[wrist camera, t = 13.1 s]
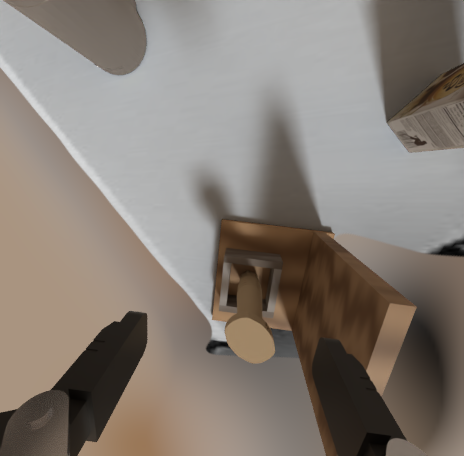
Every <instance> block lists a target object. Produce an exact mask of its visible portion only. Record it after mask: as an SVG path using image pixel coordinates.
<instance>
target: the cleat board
mask: <svg viewBox="0 0 464 456" xmlns="http://www.w3.org/2000/svg"><path fill="white" fill-rule="evenodd" d="M334 235H335V234H334V233H333V232H325V231H317V230H308V229H300V228H292V227H283V226H275V225H267V224H258V223H250V222H242V221H233V220H225V219H222V222H221V233H220V243H219V254H218V264H217V275H216V285H215V296H214V306H213V317H212V320H218V321H225V322H227V321H228V320H229V318H230V317H232V316H233V315H235V314H237V289H238V284H239V281H240V279H241V278H240V276H241V274H242V273H245V272H246V271H247V270H250V271H251V272H253V273H256V274H257V275H258V280H259V282H260V286H261V290H262V318H263V319H264V320H265V321H266V322H267V324H268V326H269V328H275V329H282V330H290V331H292V333H293V336H294V340H295V344H296V347H297V351H298V355H299V358H300V362H301V365H302V369H303V373H304V376H305V380H306V384H307V387H308V391H309V395H310V398H311V402H312V405H313V409H314V413H315V417H316V420H317V424H318V427H319V431H320V435H321V438H322V442H323V445H324V449H325V453H326V456H338V455H337V452H336V448H335V445H334V442H333V439H332V436H331V433H330V430H329V427H328V423H327V420H326V417H325V414H324V411H323V408H322V405H321V402H320V398H319V395H318V392H317V389H316V386H315V383H314V380H313V376H312V362H313V358H314V355H315V352H316V348H317V345H318V341H319V339H320V338H321V337H323V338H331V339H338V340H339V341H340V342H341V343H342V345H343V347H344V349H345V351H346V353H347V354H352V355H353V356H354V357H355V358H356V359H357V360H358V361H359V362H360V363H361V364H362V365H363V367H364V368H365V370H366V372H367V373H368V375H369V377H370V380H371V381H372V382H373V384H374V385H375V387H376V389H377V392H379V394H380V396H381V397H382V394H383V392H384V389H385V386H386V384H387V381H388V379H389V376H390V374H391V371H392V369H393V366H394V363H395V361H396V358H397V356H398V353H399V351H400V348H401V346H402V343H403V340H404V338H405V335H406V333H407V330H408V327H409V325H410V322H411V320H412V317H413V315H414V312H415V310H416V306H415V305H414V304H412V303H411V302H410V301H409V300H407V299H406V298H405V297H404V296H403V295H401V294H400V293H399V292H398V291H396V290H395V289H394V288H393V287H392V286H390V285H389V284H388V283H387V282H385V281H384V280H383V279H382V278H380V277H379V276H378V275H377V274H376V273H374V272H373V271H372V270H370V269H369V268H368V267H367V266H366V265H364V264H363V263H362V262H361V261H359V260H358V259H357V258H356V257H355V256H353V255H352V254H351V253H350V252H348V251H347V250H346V249H345V248H344V247H342V246H341V245H340V244H338V243H337V242H336V241H335V240H334Z"/></svg>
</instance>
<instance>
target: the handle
mask: <svg viewBox="0 0 464 456" xmlns="http://www.w3.org/2000/svg"><path fill="white" fill-rule="evenodd" d="M240 278H241V279H240V281H239V284H238V289H237V314H235V315H233V316H232V317H230V318H229V320H228V321H227V323H226V326H225V335H226V339H227V343H228V345H229V346H230V348H231V349H232V350H233V351H234V352H235V354H236V355H238V356H239V357H240V358H242V359H244V360H246V361H248V362H250V363H261V362H264V361H266V360H268V359H269V358H271V357H272V356H273V354H274V353H275V347H274V341H273V335H272V331H271V329H270V328H269V326H268V324H267V322H266V321H265V320H264V319H263V318H262V290H261V286H260V282H259V280H258V275H257V274H256V273H253V272H251V271H250V270H247V271H246V272H245V273H242V274H241V276H240Z"/></svg>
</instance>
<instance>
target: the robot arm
mask: <svg viewBox="0 0 464 456" xmlns="http://www.w3.org/2000/svg"><path fill="white" fill-rule="evenodd" d="M3 1H5V2H6V3H8V4H9V5H10V6H12V7H13V8H15V9H16V10H18V11H19V12H21V13H22V14H23V15H25V16H26V17H28V18H29V19H31V20H32V21H34V22H35V23H36V24H38V25H39V26H41V27H42V28H44V29H45V30H47V31H48V32H49V33H51V34H52V35H54V36H55V37H57V38H58V39H60V40H61V41H62V42H64V43H65V44H67V45H68V46H70V47H71V48H73V49H74V50H75V51H77V52H78V53H80V54H81V55H83V56H84V57H86V58H87V59H88V60H90V61H91V62H93V63H94V64H95V65H96V66H98V67H100V68H101V69H103V70H104V71H106V72H108V73H110V74H114V75H124V74H128V73H130V72H132V71H133V70H135V69H136V68H137V67H138V66H139V65H140V63H141V61H142V60H143V57H144V55H145V51H146V32H145V28H144V25H143V22H142V20H141V19H140V17H139V15H138V13H137V10H136V2H135V1H134V0H3ZM146 344H147V314H146V313H141V312H134V311H129V312H128V313H127V314H126V315H125V316H124V318H123V319H122V320H121V322H115V321H114V322H113V323H111V324H110V325H108V326H107V327H105V328H104V329H102V330H101V332H100V333H99V334H98V335H97V336H96V338H95V339H94V341H93V342H91V343H90V345H89V346H88V347H87V348H86V350H85V351H84V352H83V353H82V354H81V355H80V356H79V357H78V359H77V360H76V361H75V362H74V363H73V364H72V366H71V367H70V368H69V369H68V370H67V372H66V373H65V374H64V375H63V376H62V378H61V379H60V380H59V381H58V382H57V383H56V384H55V386H54V387H53V388H52V389H51V390H50V391H46V392H43V393H41V394H38V395H36V396H34V397H33V398H31V399H30V400H28V401H27V402H25V403H24V404H23V405H22V406H21V407H19V408H18V409H16V410H12V411H7V412H2V413H0V456H77V455H78V454H79V452H80V450H81V448H82V447H83V445H84V443H85V441H92V442H97V441H98V439H99V437H100V435H101V433H102V431H103V430H104V428H105V426H106V424H107V422H108V420H109V418H110V416H111V414H112V413H113V410H114V409H115V407H116V405H117V403H118V401H119V399H120V397H121V395H122V393H123V392H124V390H125V388H126V386H127V384H128V382H129V380H130V378H131V376H132V375H133V373H134V371H135V369H136V367H137V365H138V363H139V361H140V359H141V358H142V356H143V353H144V351H145V348H146ZM312 376H313V380H314V383H315V386H316V389H317V392H318V395H319V398H320V402H321V405H322V408H323V411H324V414H325V417H326V420H327V423H328V427H329V430H330V433H331V436H332V439H333V442H334V445H335V448H336V452H337V455H338V456H427V455H426V454H425V453H424V452H423V451H422V450H420V449H419V448H418V447H417V446H415V445H413V444H412V443H410V442H408V441H407V440H406V438H405V437H404V435H403V433H402V431H401V430H400V428H399V426H398V425H397V423H396V421H395V419H394V418H393V416H392V414H391V413H390V411H389V409H388V408H387V406H386V404H385V402H384V401H383V399H382V397H381V396H380V394H379V392H377V389H376V387H375V385H374V384H373V382H372V381H371V380H370V377H369V375H368V373H367V372H366V370H365V368H364V367H363V365H362V364H361V363H360V362H359V361H358V360H357V359H356V358H355V357H354V356H353V355H352V354H347V353H346V351H345V349H344V347H343V345H342V343H341V342H340V341H339V340H338V339H331V338H323V337H321V338H320V339H319V341H318V345H317V348H316V352H315V355H314V358H313V362H312Z"/></svg>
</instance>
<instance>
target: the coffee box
mask: <svg viewBox="0 0 464 456" xmlns="http://www.w3.org/2000/svg"><path fill="white" fill-rule="evenodd" d="M387 124H388V125H389V126H390V128H391V129H392V130H393V132H394V133H395V134H396V136H397V137H398V138H399V140H400V141H401V142H402V144H403V145H404V146H405V148H406V149H407V150H408V151H409V152H410V153H412V152H422V151H433V150H443V149H455V148H464V63H463V64H461V65H459V66H457V67H455V68H453V69H451V70H449V71H447V72H445V73H444V74H442V75H441V76H439V77H438V78H437V79H436V80H435V81H434V82H433V83H431V84H430V85H429V86H428V87H427V88H426V89H425V90H423V91H422V92H421V93H420V94H419V95H418V96H417V97H415V98H414V99H413V100H412V101H411V102H410V103H409V104H407V105H406V106H405V107H404V108H403V109H402V110H401V111H399V112H398V113H397V114H396V115H395V116H394V117H392V118H391V119H390V120H389V121H388V122H387Z"/></svg>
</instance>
